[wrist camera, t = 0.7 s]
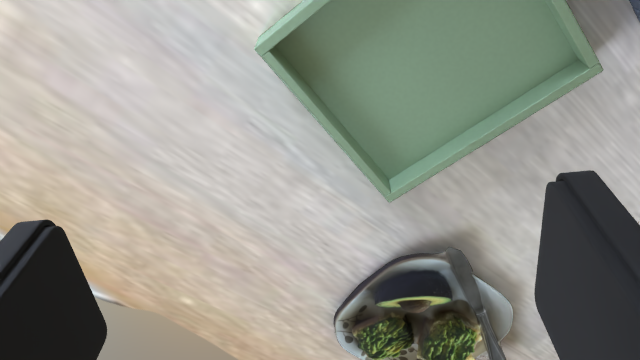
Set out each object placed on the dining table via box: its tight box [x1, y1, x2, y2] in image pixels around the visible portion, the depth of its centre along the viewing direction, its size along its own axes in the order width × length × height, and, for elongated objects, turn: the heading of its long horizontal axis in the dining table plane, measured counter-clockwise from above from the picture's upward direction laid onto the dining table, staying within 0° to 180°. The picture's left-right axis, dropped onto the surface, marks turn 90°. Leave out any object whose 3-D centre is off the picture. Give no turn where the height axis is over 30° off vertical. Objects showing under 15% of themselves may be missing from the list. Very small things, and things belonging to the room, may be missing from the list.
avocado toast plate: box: [334, 247, 513, 360], centre depth 56 cm, size 19×18×5 cm
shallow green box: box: [254, 0, 603, 203], centre depth 41 cm, size 18×20×3 cm
